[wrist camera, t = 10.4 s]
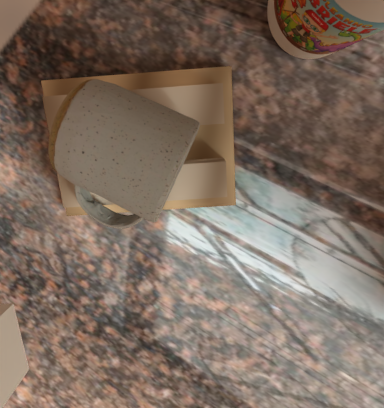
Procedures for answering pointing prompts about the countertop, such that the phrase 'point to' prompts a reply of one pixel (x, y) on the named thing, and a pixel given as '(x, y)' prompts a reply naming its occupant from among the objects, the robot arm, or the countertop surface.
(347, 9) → the milk bottle
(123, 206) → the speckled stoneware cup
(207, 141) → the wooden block with ridges
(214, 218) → the countertop surface
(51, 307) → the countertop surface
